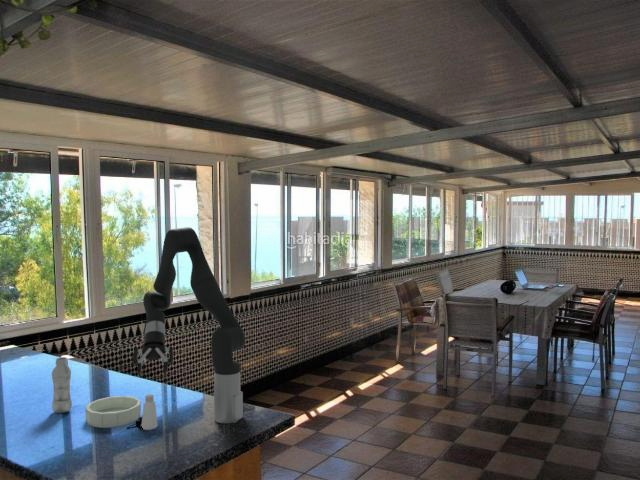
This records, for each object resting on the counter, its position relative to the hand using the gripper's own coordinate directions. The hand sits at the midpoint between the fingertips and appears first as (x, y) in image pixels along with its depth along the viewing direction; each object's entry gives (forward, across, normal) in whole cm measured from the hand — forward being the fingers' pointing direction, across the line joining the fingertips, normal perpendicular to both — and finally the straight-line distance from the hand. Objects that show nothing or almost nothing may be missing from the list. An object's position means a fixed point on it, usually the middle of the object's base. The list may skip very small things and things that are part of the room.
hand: (152, 373), depth 194 cm
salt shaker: (+19, 0, +3) cm, 19 cm away
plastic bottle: (+4, -33, +18) cm, 38 cm away
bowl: (+11, -13, +11) cm, 20 cm away
